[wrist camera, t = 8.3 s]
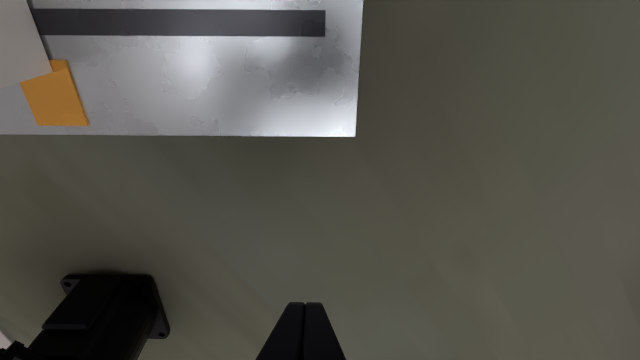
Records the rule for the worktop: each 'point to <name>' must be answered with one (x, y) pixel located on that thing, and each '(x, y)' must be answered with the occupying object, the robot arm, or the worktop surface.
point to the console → (191, 69)
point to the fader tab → (20, 45)
